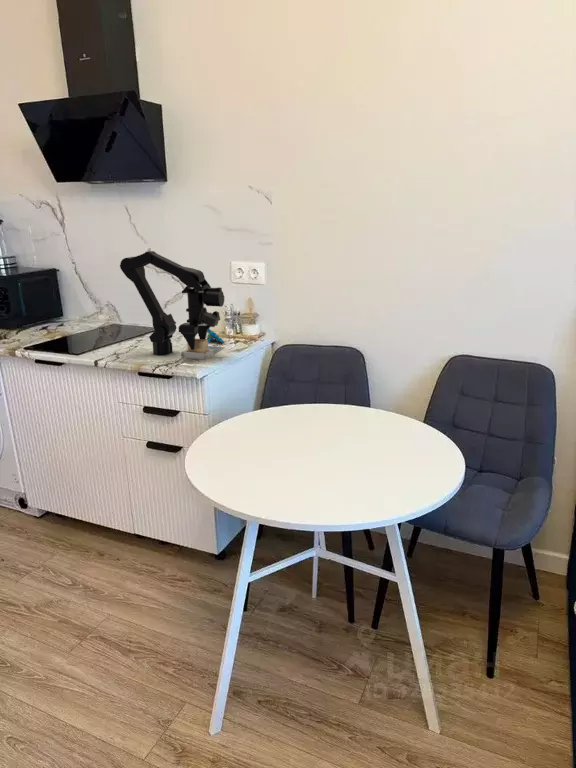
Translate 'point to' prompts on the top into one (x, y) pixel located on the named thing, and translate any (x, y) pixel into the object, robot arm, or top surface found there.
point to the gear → (213, 336)
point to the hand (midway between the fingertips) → (198, 346)
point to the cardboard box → (199, 346)
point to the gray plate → (201, 356)
